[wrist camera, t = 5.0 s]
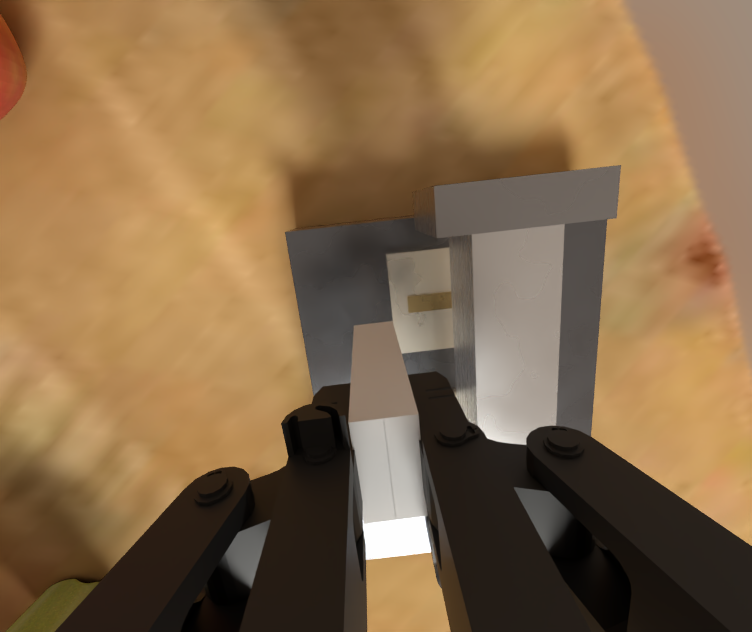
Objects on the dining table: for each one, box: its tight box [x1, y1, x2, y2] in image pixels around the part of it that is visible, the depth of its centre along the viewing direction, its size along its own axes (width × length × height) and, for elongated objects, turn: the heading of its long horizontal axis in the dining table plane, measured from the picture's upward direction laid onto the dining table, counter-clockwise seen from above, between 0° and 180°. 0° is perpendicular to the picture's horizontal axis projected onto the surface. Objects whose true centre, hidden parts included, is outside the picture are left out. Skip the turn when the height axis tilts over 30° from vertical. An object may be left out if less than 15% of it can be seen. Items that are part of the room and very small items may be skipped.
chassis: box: [285, 215, 607, 588], centre depth 20 cm, size 15×20×6 cm
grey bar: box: [413, 165, 621, 445], centre depth 13 cm, size 21×4×6 cm, turn 6°
